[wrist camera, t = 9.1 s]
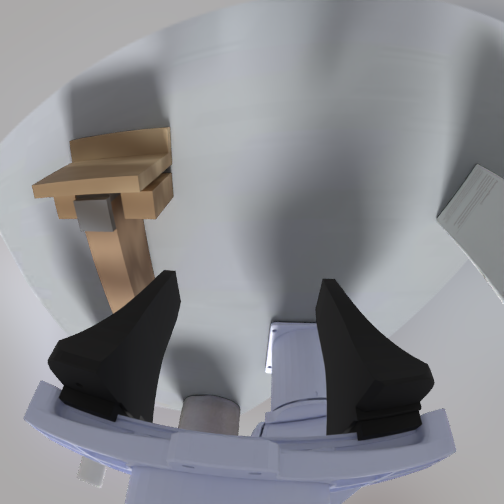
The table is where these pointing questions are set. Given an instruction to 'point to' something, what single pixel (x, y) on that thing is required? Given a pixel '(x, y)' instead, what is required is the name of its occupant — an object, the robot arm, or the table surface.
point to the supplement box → (479, 224)
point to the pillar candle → (210, 415)
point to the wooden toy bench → (115, 172)
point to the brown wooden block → (115, 246)
